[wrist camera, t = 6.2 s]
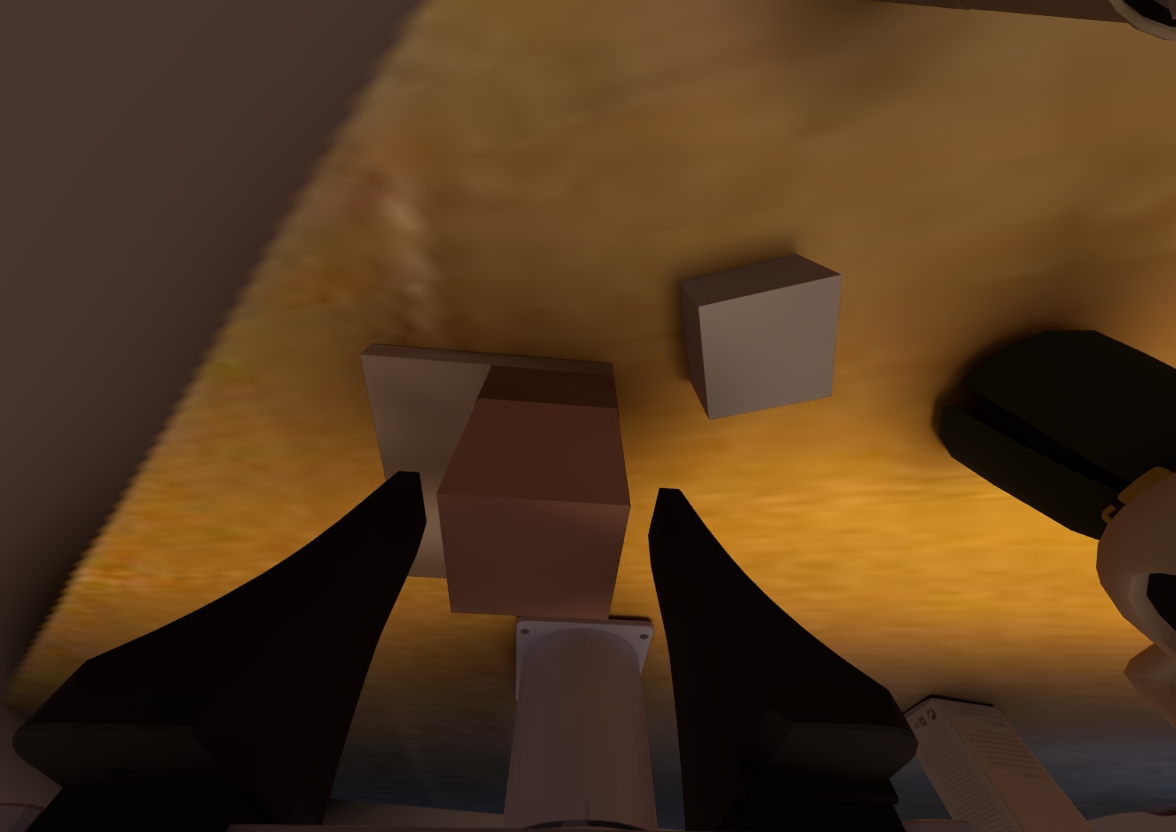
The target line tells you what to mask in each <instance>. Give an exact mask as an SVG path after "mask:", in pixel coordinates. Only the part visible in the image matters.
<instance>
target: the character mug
mask: <svg viewBox="0 0 1176 832" xmlns="http://www.w3.org/2000/svg"><path fill="white" fill-rule="evenodd" d="M962 384H963V385H965V386H967V387H968V388H970V389H972V390H973V391H975V392H977V393H978V394H980V395H982V396H983V397H985V398H986V399H985V400H984V401H982V402H981V403H980V406H979V408H978V411H977V413H976V416H975V418H973V417H971V416H970V415H968V414H966V413H964V412H963V411H961V410H959V409H957V408H955V407H954V406H952V405H950V404H948V405H947V406H946V407H945V409H944V410H943V413H942V420H941V428H940V435H939V437H940V438H941V440H942V442H943V443H944V445H945V447H946V448H947V450H948V452H949V453H950V455H951V457H953V458H954V459H956V460H957V461H959V462H960V463H962V464H963V465H965V466H966V467H968V468H969V469H971V470H972V471H974V472H975V473H977V474H978V475H980V476H981V477H983V478H984V479H986V480H987V481H989V482H990V483H992V484H993V485H995V486H997V487H998V488H1000V489H1002V490H1003V491H1005V492H1007V493H1009V494H1010V495H1012V496H1014V497H1015V498H1017V499H1019V500H1021V501H1022V502H1024V503H1026V504H1027V505H1029V506H1031V507H1032V508H1034V509H1036V510H1038V511H1039V512H1041V513H1043V514H1044V515H1046V516H1048V517H1049V518H1051V519H1053V520H1054V521H1056V522H1058V523H1060V524H1061V525H1063V526H1065V527H1066V528H1068V529H1070V530H1072V531H1075V532H1077V533H1080V534H1083V535H1086V536H1088V537H1091V538H1094V539H1097V540H1100V541H1099V543H1098V549H1097V563H1096V569H1097V572H1098V576H1099V580H1100V583H1101V585H1102V587H1103V588H1104V589H1105V591H1106V592H1107V594H1108V595H1109V597H1110V598H1111V600H1112V601H1113V603H1114V604H1115V606H1116V607H1117V609H1118V610H1119V612H1120V613H1121V615H1122V616H1123V617H1124V618H1125V619H1126V620H1128V621H1129V622H1130V623H1131V624H1132V625H1133V626H1135V627H1136V628H1137V629H1138V630H1139V631H1141V632H1142V633H1143V634H1144V635H1145V636H1147V637H1148V638H1149V639H1150V640H1151V641H1152V642H1154V644H1152V645H1150V646H1149V647H1147V648H1146V649H1144V650H1143V651H1141V652H1140V653H1138V654H1137V655H1135V656H1134V657H1132V658H1131V659H1130V660H1129V662H1128V664H1127V666H1126V668H1125V670H1124V674H1125V675H1126V676H1127V678H1128V679H1129V681H1130V682H1131V684H1132V685H1133V687H1134V688H1135V689H1136V690H1137V691H1138V692H1139V693H1140V694H1141V695H1142V696H1143V697H1144V698H1145V699H1146V700H1147V701H1148V702H1149V703H1150V704H1151V705H1152V706H1153V707H1154V708H1155V709H1156V710H1157V711H1159V712H1160V713H1161V714H1162V715H1163V716H1164V717H1165V718H1166V719H1167V720H1168V721H1169V722H1170V723H1171V724H1172V725H1173V726H1174V727H1175V728H1176V369H1175V368H1173V367H1171V366H1169V365H1167V364H1165V363H1163V362H1161V361H1159V360H1157V359H1155V358H1153V357H1151V356H1149V355H1148V354H1145V353H1143V352H1141V351H1139V350H1137V349H1134V348H1132V347H1130V346H1128V345H1126V344H1123V343H1121V342H1119V341H1117V340H1114V339H1112V338H1110V337H1108V336H1106V335H1103V334H1101V333H1099V332H1097V331H1094V330H1084V331H1045V332H1042V333H1040V334H1037V335H1035V336H1032V337H1030V338H1028V339H1025V340H1023V341H1020V342H1018V343H1015V344H1013V345H1010V346H1008V347H1005V348H1003V349H1001V350H1000V351H998V352H997V353H996V354H995V355H993V356H992V357H991V358H989V359H988V360H987V361H985V362H984V363H983V364H981V365H980V366H979V367H978V368H976V369H975V370H974V371H972V372H971V373H970V374H968V375H967V377H966V378H965V380H964V382H963V383H962Z"/></svg>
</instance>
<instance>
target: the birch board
mask: <svg viewBox="0 0 1176 832" xmlns="http://www.w3.org/2000/svg"><path fill="white" fill-rule="evenodd" d="M360 357H361V362H362V367H363V372H364V376H365V381H366V386H367V391H368V396H369V401H370V406H371V411H372V416H373V420H374V425H375V430H376V435H377V440H378V445H379V450H380V455H381V459H382V464H383V469H384V474H385V479H386V481H387V480H388V479H389V478H391V477H392V476H393V475H394V474H395V473H397V472H398V471H409V472H420V479H421V485H422V492H423V499H424V506H425V512H426V519H427V524H426V527H425V530H424V534H423V537H422V540H421V543H420V547H419V550H418V553H417V555H416V558H415V560H414V562H413V564H412V567H411V569H410V571H409V573H408V575H407V576H414V577H434V578H447V575H446V567H445V559H444V552H443V544H442V536H441V528H440V520H439V512H438V504H437V496H436V493H437V491H438V488H439V486H440V484H441V482H442V479H443V477H444V475H445V472H446V470H447V468H448V466H449V463H450V461H451V459H452V456H453V454H454V452H455V450H456V447H457V445H458V443H459V440H460V438H461V436H462V434H463V431H464V429H465V427H466V424H467V422H468V420H469V418H470V415H471V413H472V411H473V409H474V406H475V402H476V400H477V397H478V395H479V393H480V390H481V388H482V386H483V384H484V381H485V379H486V377H487V375H488V372H489V370H490V368H491V366H492V365H496V366H508V367H520V368H533V369H545V370H558V371H570V372H583V373H595V374H608V375H613V369H612V364H611V363H599V362H586V361H574V360H562V359H550V358H538V357H525V356H513V355H501V354H489V353H477V352H464V351H452V350H440V349H428V348H416V347H403V346H391V345H379V344H372V345H370V346H369V347H368V348H367V349H366V350H365V351H364V352H362V353H361V354H360Z"/></svg>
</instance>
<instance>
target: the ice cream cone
mask: <svg viewBox="0 0 1176 832" xmlns="http://www.w3.org/2000/svg"><path fill="white" fill-rule="evenodd" d="M871 1H878V2H889V3H900V4H910V5H921V6H932V7H943V8H953V9H963V10H969V9H977V10H988V11H999V12H1010V13H1021V14H1032V15H1043V16H1054V17H1066V18H1077V19H1088V20H1099V21H1110V22H1121V23H1129V24H1130V25H1131V26H1132V27H1134V28H1135V29H1137V30H1139V31H1142V32H1145V33H1148V34H1150V35H1153V36H1156V37H1158V38H1161V39H1164V40H1174V41H1176V0H871Z"/></svg>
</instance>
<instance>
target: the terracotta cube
mask: <svg viewBox="0 0 1176 832" xmlns="http://www.w3.org/2000/svg"><path fill="white" fill-rule="evenodd" d="M436 496H437V504H438V512H439V520H440V528H441V536H442V544H443V552H444V559H445V567H446V575H447V583H448V591H449V599H450V607H451V613H472V614H493V615H515V616H537V617H559V618H580V619H602V620H608V617H609V612H610V607H611V602H612V597H613V592H614V587H615V582H616V577H617V572H618V567H619V562H620V557H621V552H622V547H623V542H624V537H625V532H626V527H627V522H628V517H629V512H630V507H631V504H630V497H629V490H628V483H627V476H626V469H625V461H624V454H623V447H622V440H621V433H620V425H619V418H618V411H617V409H615V408H602V407H589V406H576V405H562V404H549V403H536V402H523V401H510V400H496V399H483V398H478V399H477V402H476V404H475V406H474V409H473V411H472V413H471V415H470V418H469V420H468V422H467V424H466V427H465V429H464V431H463V434H462V436H461V438H460V440H459V443H458V445H457V447H456V450H455V452H454V454H453V456H452V459H451V461H450V463H449V466H448V468H447V470H446V472H445V475H444V477H443V479H442V482H441V484H440V486H439V488H438V491H437V493H436Z"/></svg>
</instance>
